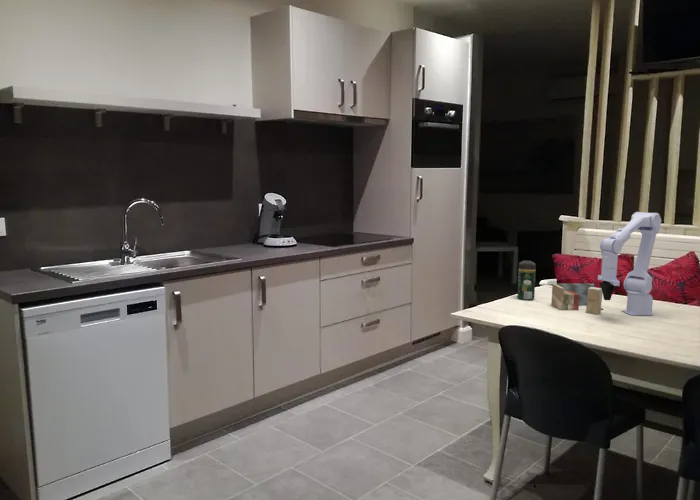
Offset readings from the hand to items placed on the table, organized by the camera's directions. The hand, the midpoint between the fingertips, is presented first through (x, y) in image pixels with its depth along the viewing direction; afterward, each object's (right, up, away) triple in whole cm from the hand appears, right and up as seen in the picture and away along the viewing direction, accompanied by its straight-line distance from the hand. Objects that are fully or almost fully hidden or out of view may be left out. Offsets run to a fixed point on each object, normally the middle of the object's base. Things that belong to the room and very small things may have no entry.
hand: (607, 299), depth 228 cm
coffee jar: (-21, -3, +40) cm, 45 cm away
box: (0, -7, +12) cm, 14 cm away
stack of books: (-4, -5, +22) cm, 23 cm away
